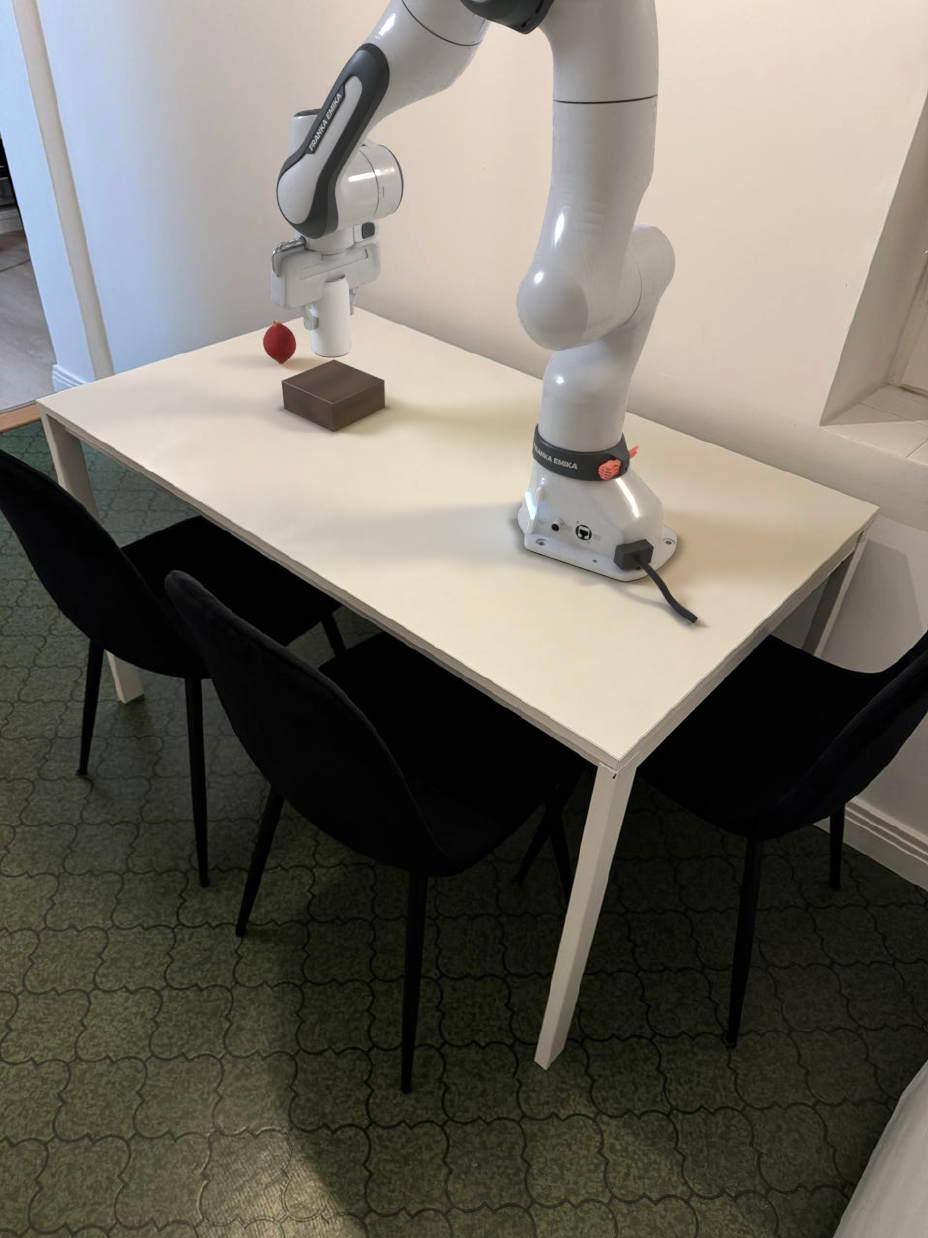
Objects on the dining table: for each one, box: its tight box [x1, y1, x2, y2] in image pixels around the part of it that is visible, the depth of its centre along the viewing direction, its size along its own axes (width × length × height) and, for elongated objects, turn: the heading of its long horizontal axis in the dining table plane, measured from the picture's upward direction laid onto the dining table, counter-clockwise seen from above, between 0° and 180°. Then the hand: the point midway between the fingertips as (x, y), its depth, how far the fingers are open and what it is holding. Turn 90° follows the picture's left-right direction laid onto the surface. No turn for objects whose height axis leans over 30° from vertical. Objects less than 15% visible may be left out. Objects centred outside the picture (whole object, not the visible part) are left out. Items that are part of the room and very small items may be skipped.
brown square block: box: [281, 359, 386, 433], centre depth 151 cm, size 12×12×5 cm
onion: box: [262, 319, 297, 364], centre depth 163 cm, size 6×6×8 cm
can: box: [309, 275, 352, 359], centre depth 142 cm, size 6×6×12 cm
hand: (329, 321), depth 143 cm, fingers closed on can, 6 cm apart
